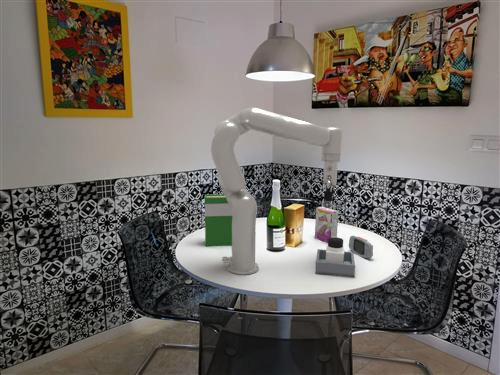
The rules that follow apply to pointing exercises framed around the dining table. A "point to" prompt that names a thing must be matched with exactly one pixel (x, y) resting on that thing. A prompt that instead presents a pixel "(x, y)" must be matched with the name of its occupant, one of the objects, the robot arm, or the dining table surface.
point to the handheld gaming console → (361, 247)
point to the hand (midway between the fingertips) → (328, 198)
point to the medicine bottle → (335, 250)
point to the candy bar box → (326, 223)
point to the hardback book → (218, 221)
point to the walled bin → (335, 265)
